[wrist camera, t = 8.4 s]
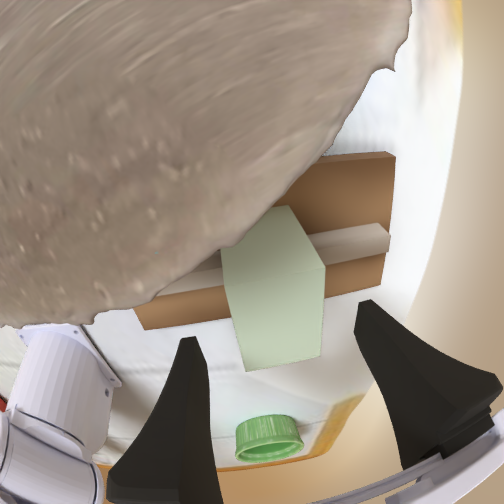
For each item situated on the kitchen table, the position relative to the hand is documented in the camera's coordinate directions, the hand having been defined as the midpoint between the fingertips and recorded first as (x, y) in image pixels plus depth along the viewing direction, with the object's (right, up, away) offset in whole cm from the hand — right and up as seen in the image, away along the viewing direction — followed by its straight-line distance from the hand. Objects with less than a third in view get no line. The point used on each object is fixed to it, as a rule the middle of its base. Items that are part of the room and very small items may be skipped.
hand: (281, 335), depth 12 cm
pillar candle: (-6, +14, 0) cm, 15 cm away
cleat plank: (-1, +4, +6) cm, 8 cm away
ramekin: (0, -20, +23) cm, 30 cm away
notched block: (-1, +3, +6) cm, 7 cm away
